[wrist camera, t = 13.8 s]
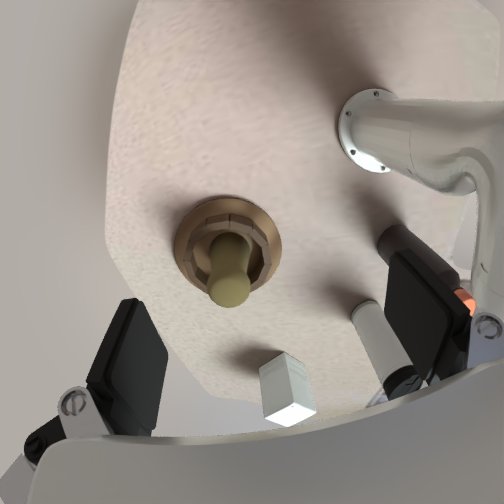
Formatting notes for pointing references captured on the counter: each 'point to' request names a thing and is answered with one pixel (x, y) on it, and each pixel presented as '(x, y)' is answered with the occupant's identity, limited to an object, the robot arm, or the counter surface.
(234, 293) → the olive knobbed pestle
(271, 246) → the collar stand
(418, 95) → the counter surface
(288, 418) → the supplement box
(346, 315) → the counter surface
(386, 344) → the travel mug
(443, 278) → the bottle
